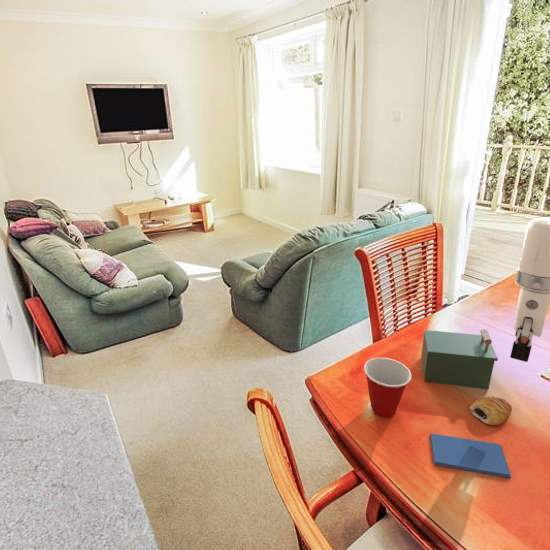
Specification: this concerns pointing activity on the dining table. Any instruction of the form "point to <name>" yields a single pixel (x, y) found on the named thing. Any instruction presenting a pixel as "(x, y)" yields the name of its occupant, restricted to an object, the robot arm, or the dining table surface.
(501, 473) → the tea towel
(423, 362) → the bin
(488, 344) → the bread bin lid
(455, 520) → the dining table surface
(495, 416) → the pastry
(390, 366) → the plastic cup
